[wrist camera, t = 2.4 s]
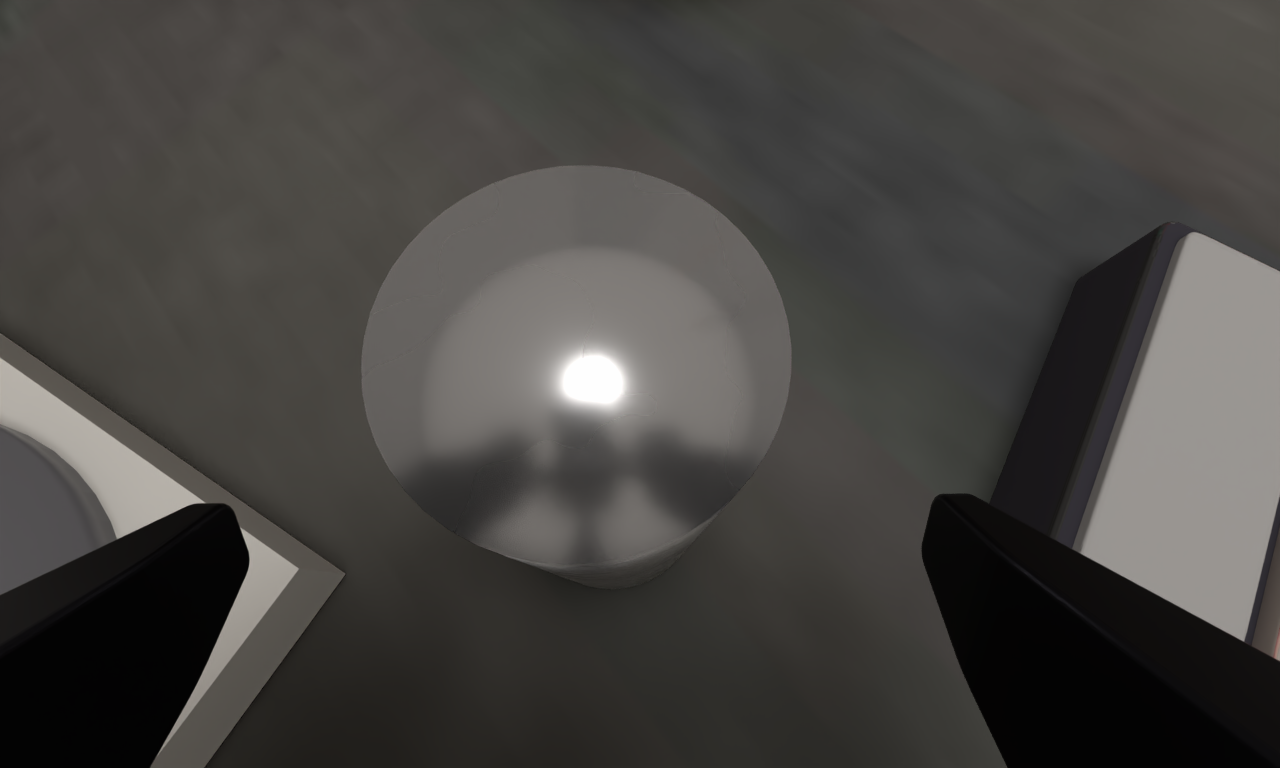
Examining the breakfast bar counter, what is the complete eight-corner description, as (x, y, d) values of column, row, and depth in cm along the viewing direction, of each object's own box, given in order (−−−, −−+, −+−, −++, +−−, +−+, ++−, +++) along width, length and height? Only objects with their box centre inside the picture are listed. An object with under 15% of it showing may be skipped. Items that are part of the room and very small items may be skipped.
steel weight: (642, 627, 17) (651, 662, 6) (487, 526, 18) (268, 410, 7) (733, 466, 18) (863, 280, 8) (586, 380, 19) (523, 107, 9)
